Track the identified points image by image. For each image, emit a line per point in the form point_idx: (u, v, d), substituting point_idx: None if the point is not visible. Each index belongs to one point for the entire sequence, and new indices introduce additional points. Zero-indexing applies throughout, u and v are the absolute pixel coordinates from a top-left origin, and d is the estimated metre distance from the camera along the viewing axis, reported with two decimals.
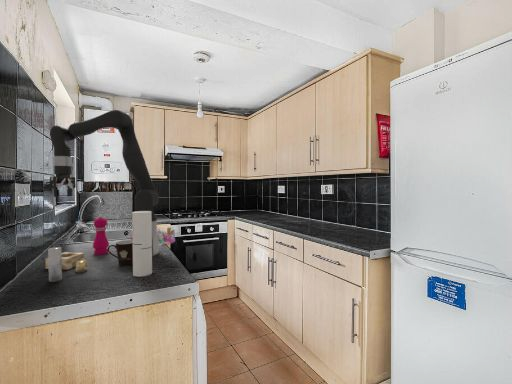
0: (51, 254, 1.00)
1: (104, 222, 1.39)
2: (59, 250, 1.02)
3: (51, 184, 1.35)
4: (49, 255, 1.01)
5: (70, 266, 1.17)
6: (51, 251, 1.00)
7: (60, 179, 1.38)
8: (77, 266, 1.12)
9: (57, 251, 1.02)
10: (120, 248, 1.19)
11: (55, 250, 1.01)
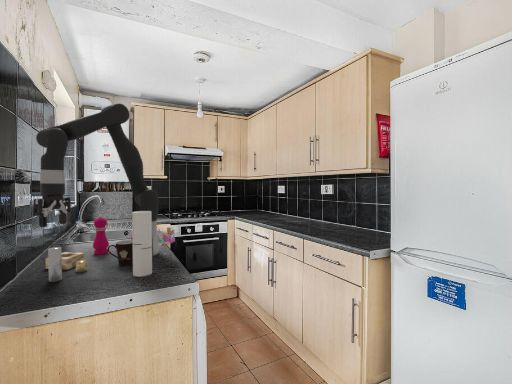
0: (51, 254, 1.00)
1: (104, 222, 1.39)
2: (59, 250, 1.02)
3: (35, 210, 0.96)
4: (49, 255, 1.01)
5: (70, 266, 1.17)
6: (51, 251, 1.00)
7: (48, 202, 0.99)
8: (77, 266, 1.12)
9: (57, 251, 1.02)
10: (120, 248, 1.19)
11: (55, 250, 1.01)
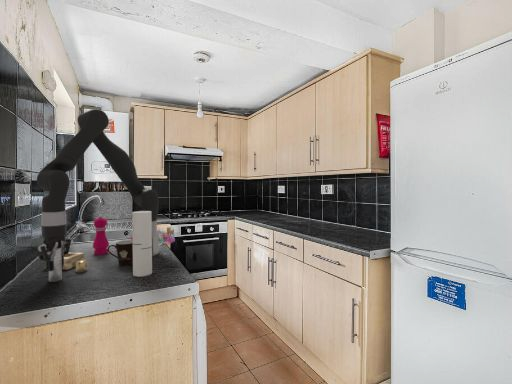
0: None
1: (104, 222, 1.39)
2: (59, 250, 1.02)
3: (41, 255, 0.98)
4: (49, 255, 1.01)
5: (70, 266, 1.17)
6: (51, 251, 1.00)
7: (51, 246, 0.99)
8: (77, 266, 1.12)
9: (57, 251, 1.02)
10: (120, 248, 1.19)
11: None
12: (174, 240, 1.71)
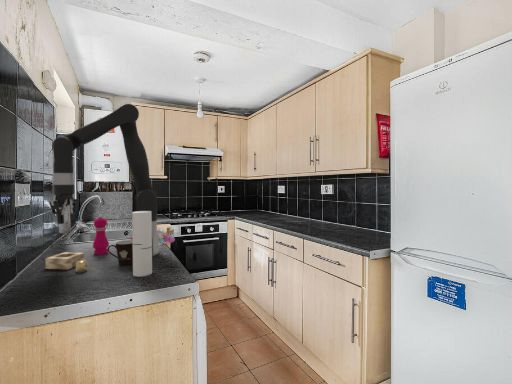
0: None
1: (104, 222, 1.39)
2: (68, 206, 1.19)
3: (53, 209, 1.14)
4: None
5: (70, 266, 1.17)
6: (61, 207, 1.17)
7: (61, 202, 1.16)
8: (77, 266, 1.12)
9: (67, 207, 1.18)
10: (120, 248, 1.19)
11: None
12: (174, 240, 1.72)
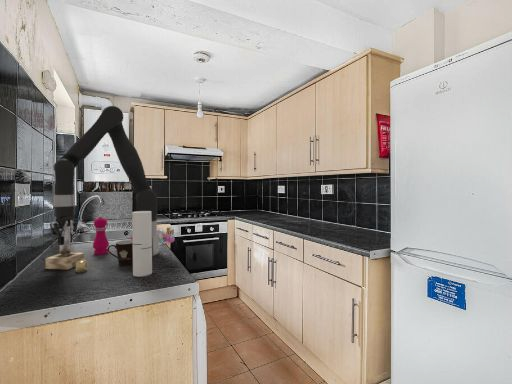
0: None
1: (104, 222, 1.39)
2: (68, 228, 1.20)
3: (54, 231, 1.15)
4: (60, 231, 1.18)
5: (70, 266, 1.17)
6: (62, 228, 1.18)
7: (62, 224, 1.17)
8: (77, 266, 1.12)
9: (67, 229, 1.19)
10: (120, 248, 1.19)
11: None
12: None
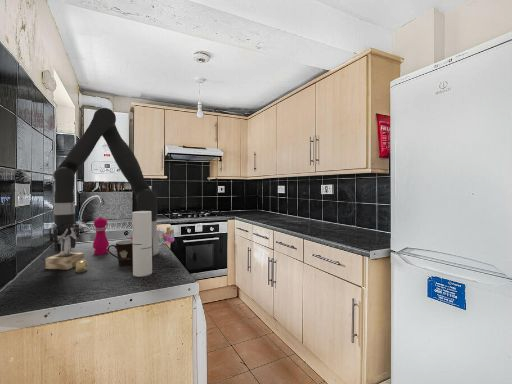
0: (62, 243, 1.18)
1: (104, 222, 1.39)
2: (69, 240, 1.20)
3: (51, 238, 1.14)
4: None
5: (70, 266, 1.17)
6: (62, 241, 1.18)
7: (62, 230, 1.17)
8: (77, 266, 1.12)
9: (67, 241, 1.19)
10: (120, 248, 1.19)
11: (65, 240, 1.19)
12: None
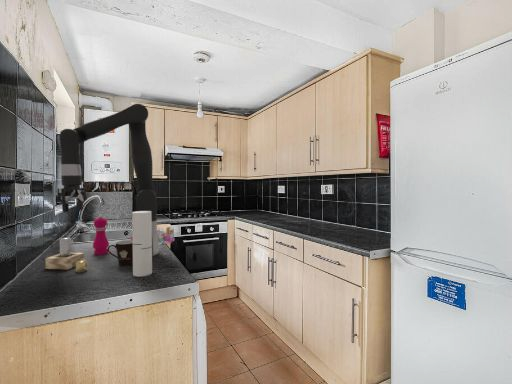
0: (62, 243, 1.18)
1: (104, 222, 1.39)
2: (69, 240, 1.20)
3: (59, 197, 1.16)
4: (60, 244, 1.18)
5: (70, 266, 1.17)
6: (62, 241, 1.18)
7: (69, 191, 1.19)
8: (77, 266, 1.12)
9: (67, 241, 1.19)
10: (120, 248, 1.19)
11: (65, 240, 1.19)
12: None
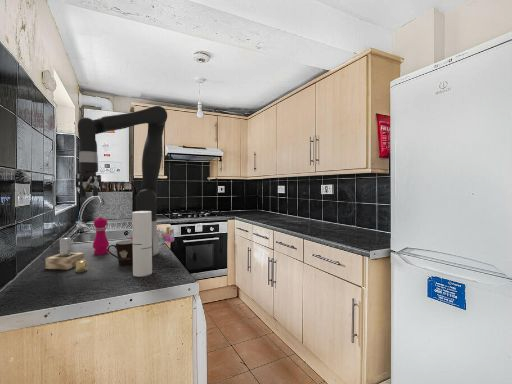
0: (62, 243, 1.18)
1: (104, 222, 1.39)
2: (69, 240, 1.20)
3: (77, 182, 1.21)
4: (60, 244, 1.18)
5: (70, 266, 1.17)
6: (62, 241, 1.18)
7: (86, 177, 1.25)
8: (77, 266, 1.12)
9: (67, 241, 1.19)
10: (120, 248, 1.19)
11: (65, 240, 1.19)
12: None
